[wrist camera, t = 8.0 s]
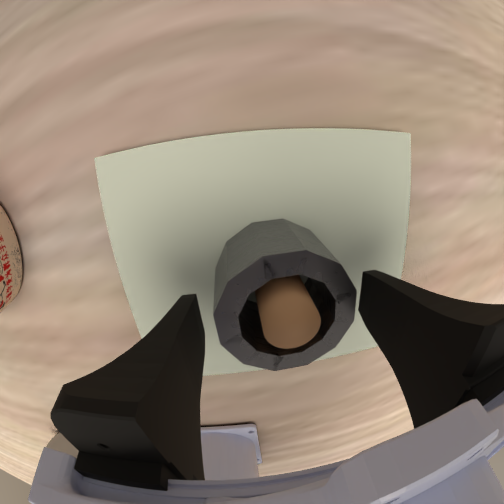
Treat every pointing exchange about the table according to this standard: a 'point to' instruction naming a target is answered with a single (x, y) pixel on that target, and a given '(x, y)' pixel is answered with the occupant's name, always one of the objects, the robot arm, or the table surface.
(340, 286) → the collar
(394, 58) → the table surface
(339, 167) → the pegged green plate
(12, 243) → the teacup with lid
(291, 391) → the table surface
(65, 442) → the bent grey cylinder
